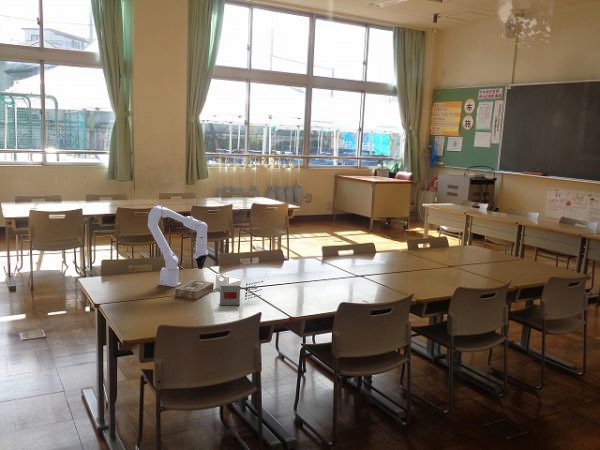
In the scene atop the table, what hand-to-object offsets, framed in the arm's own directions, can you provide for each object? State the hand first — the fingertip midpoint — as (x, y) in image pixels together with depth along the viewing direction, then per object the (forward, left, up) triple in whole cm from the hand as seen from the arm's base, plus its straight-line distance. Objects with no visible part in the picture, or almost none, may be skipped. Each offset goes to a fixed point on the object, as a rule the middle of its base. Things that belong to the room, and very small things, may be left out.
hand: (200, 268), depth 306 cm
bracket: (+15, +5, -10) cm, 18 cm away
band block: (+4, -14, -9) cm, 17 cm away
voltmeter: (+31, -17, -10) cm, 37 cm away
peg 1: (+4, -19, -9) cm, 22 cm away
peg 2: (+4, -9, -9) cm, 14 cm away
